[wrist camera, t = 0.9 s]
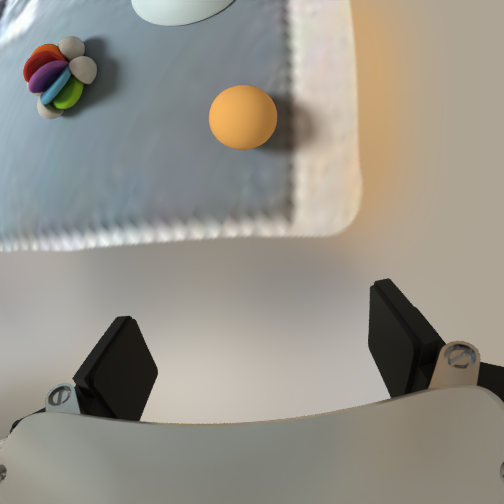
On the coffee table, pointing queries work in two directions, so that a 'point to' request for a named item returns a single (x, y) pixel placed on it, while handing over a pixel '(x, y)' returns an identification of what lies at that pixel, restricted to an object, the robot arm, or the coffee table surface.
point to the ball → (243, 117)
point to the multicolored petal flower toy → (58, 75)
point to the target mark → (178, 10)
